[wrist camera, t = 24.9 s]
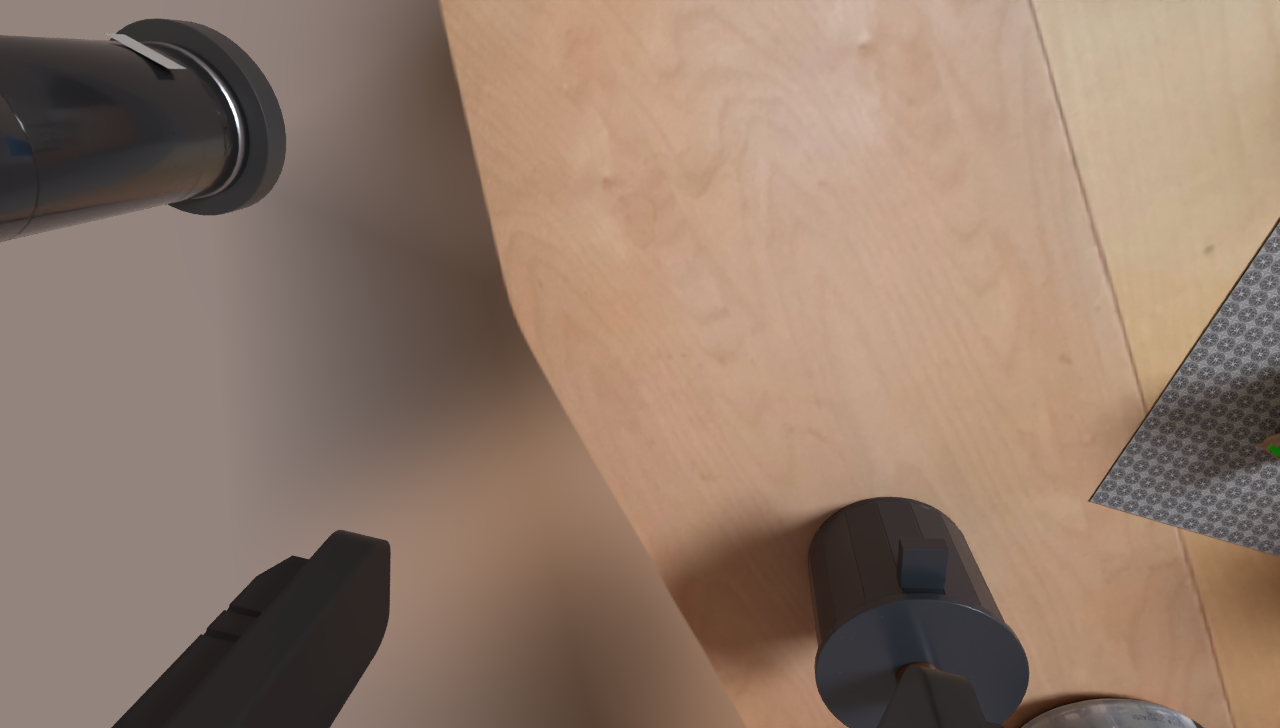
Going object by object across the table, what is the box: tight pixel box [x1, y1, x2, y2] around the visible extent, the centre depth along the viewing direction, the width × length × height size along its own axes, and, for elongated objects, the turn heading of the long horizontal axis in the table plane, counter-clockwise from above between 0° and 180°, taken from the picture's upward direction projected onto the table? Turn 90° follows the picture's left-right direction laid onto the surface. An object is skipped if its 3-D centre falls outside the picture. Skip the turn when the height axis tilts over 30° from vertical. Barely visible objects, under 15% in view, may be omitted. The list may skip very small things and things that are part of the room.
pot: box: [808, 497, 1004, 647], centre depth 43 cm, size 11×16×10 cm
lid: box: [815, 593, 1029, 728], centre depth 35 cm, size 12×12×8 cm
